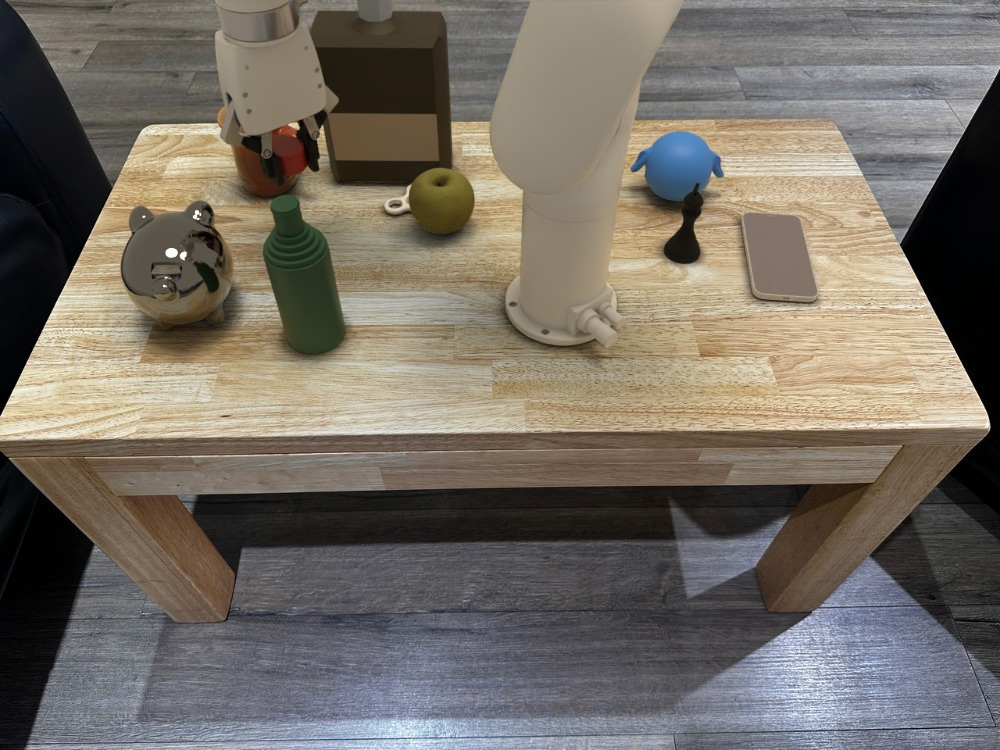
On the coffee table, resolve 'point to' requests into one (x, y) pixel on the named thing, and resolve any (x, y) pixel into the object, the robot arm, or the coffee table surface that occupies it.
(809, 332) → the coffee table surface
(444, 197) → the apple
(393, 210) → the fidget spinner
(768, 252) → the smartphone
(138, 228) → the piggy bank
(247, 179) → the mug
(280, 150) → the cap
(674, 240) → the chess piece
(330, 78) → the bottle
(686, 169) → the blue mole toy
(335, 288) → the sauce bottle
